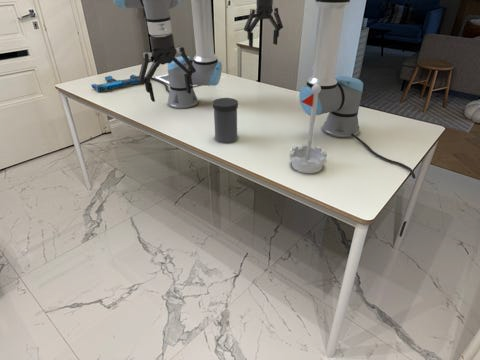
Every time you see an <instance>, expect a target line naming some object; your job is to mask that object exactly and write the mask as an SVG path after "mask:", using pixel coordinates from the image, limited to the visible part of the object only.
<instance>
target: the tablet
mask: <svg viewBox="0 0 480 360" xmlns="http://www.w3.org/2000/svg"><path fill="white" fill-rule="evenodd" d="M153 78H154V79H157V80H159V81H162V82H164V83H165V84H166V85H168V86H170V83H169V76H168V73H167V74H163V75H157V76H153ZM198 86H200V85H193V88H195V87H198Z"/></svg>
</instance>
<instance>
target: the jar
mask: <svg viewBox="0 0 480 360" xmlns="http://www.w3.org/2000/svg"><path fill="white" fill-rule="evenodd" d="M213 117H214V118H213V121H214V123H213V124H214V140H215V141H216V142H218V143H222V144H231V143H233V142H236V141H237V140H238V108H237V109H236V110H234V111H230V112H219V111H216V110H214V109H213Z"/></svg>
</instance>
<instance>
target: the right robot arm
mask: <svg viewBox="0 0 480 360" xmlns="http://www.w3.org/2000/svg"><path fill="white" fill-rule="evenodd" d="M273 3H274V0H256V3H255V5H256V9H254V8H250V9H249V15H248V18H247V20H246V23H245V25H244V27H243V31H245V32H247V37H246V38H247V40H248V47H249V48H254V32H253V31H254V29H255V28H256V26H257V25H258V23H259V21H261V20H268V21H269V22H270V23H271V25H272V26H273V28H274V29H273V35H272V36H273V38H272V44H273V45H275V46H277V45H278V38H279V37H280V31H281V29H283V28H284V25H283V23H282V19H281V17H280V14H279V8H278V7H275V6H274V7H273ZM350 3H351V0H315V4H316V5H317V6H318V14H317V21H316V22H317V23H316V31H315V41H314V49H313V59H312V69H311V75H310V76H309V77H308V78H306V84H305V86H303V87H302V88H301V89H300V91H299V94H298V99H299V103H300V106H301V108H302V110H303V112H304V113H305V114H307V115H308V116H311V109H312V107H311V106H309V105H307V104H304V103H302V101H303V100H305V99H306V98H308V97H309V96H311V95H312V94H313V92H312V87H313V85H315V84H318V85H320V87H321V91H320V92H319V93H318V99H317V107H316V115H315V116H321V115H324V114H328V115H327V117H326V120H325V121H324V123H323V126H322V130H323V132H324V133H325V134H326V135H329V136H332V137H335V138H339V139H341V138H342V139H349V138H354V139H355V140H356V141H358V142H360V143H361V144H362V146H364V147H365V148H366V149H367V150H368V151H369V152H370V153H371V154H372V155H374V156H376V157H377V158H379V159H381V160H383V161H385V162H388V163H390V164H395V165H398V166H400V167H402V168H404V169H406V170H408V171H409V173H410V174H411V178H413V179H416V174H415V172H414V170H413V169H412V168H411V167H409V166H408V165H406V164H404V163H402V162H399V161H396V160H392V159H389V158H387V157H385V156H383V155H381V154H379V153H377V152H376V151H374V150H373V149H372V148H371V147H370V145H368V144H367V143H365V141H363V140H362V139H361V138H359V137H358V136H357V135H359V132H360V125H359V118H358V117H359V116H358V114H359V111H360V110H359V109H360V105H361V101H362V96H363V92H364V91H363V89H364V82H363V81H362V80H361V79H359V78H356V77H353V76H346V75H336V76H335V72H336V67H337V59H338V53H339V46H340V41H341V33H342V28H343V27H342V26H343V19H344V12H345V8H346V7H347V6H348V5H349V4H350ZM272 14H273V15H272ZM407 222H408V221H407V220H405V221H403V223H402V226H401V228H400V232H399V234H398V235H399V237H400V238H402V237H403V234H404V230H405V228H406V225H407Z"/></svg>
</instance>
